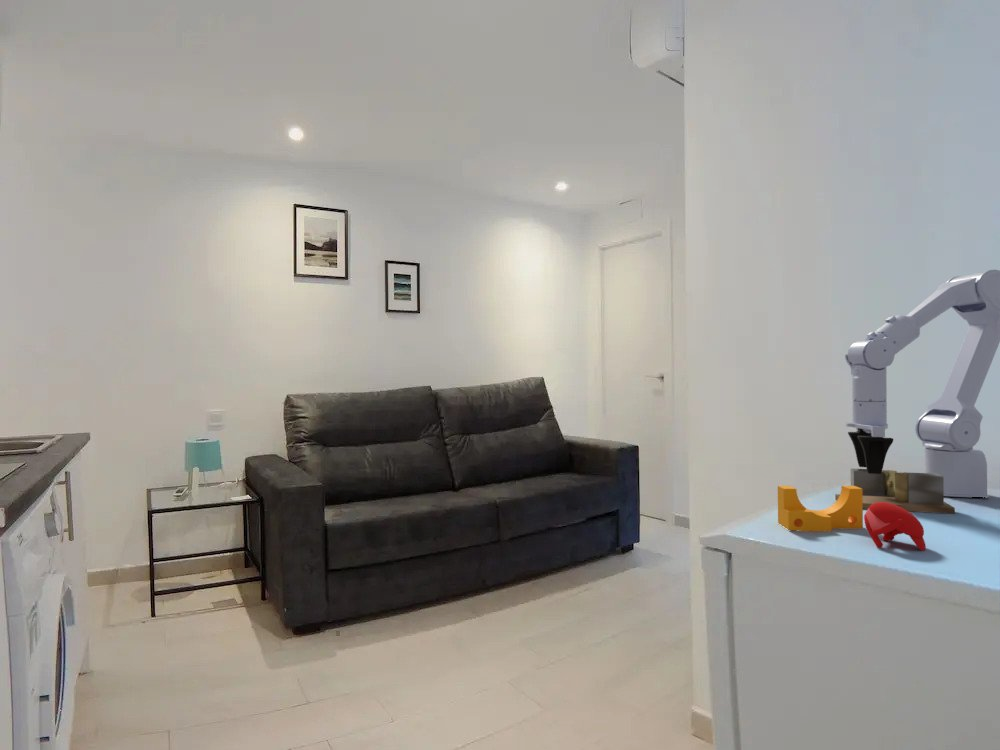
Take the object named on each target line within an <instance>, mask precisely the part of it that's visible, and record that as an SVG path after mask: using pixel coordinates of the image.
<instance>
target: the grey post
mask: <svg viewBox="0 0 1000 750" xmlns="http://www.w3.org/2000/svg"><path fill="white" fill-rule="evenodd" d="M895 473H898V471H897V470H893V469H892V470H891V469H882V472H881V474H872V473H868V471H867V468H850V486H856V487H859V488H862V495H863V496H881V497H895Z"/></svg>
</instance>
